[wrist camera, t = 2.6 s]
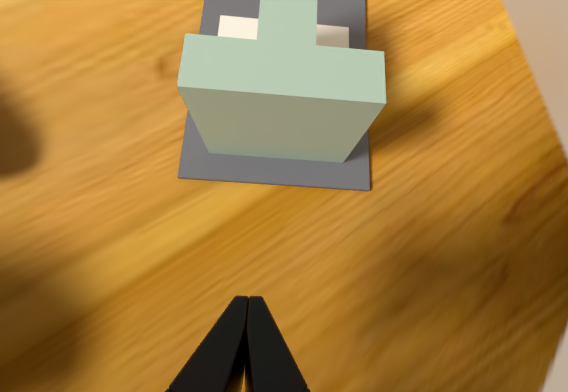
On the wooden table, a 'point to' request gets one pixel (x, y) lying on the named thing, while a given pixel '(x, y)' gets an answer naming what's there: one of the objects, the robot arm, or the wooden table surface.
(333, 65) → the t block
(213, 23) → the mat
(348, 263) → the wooden table surface
